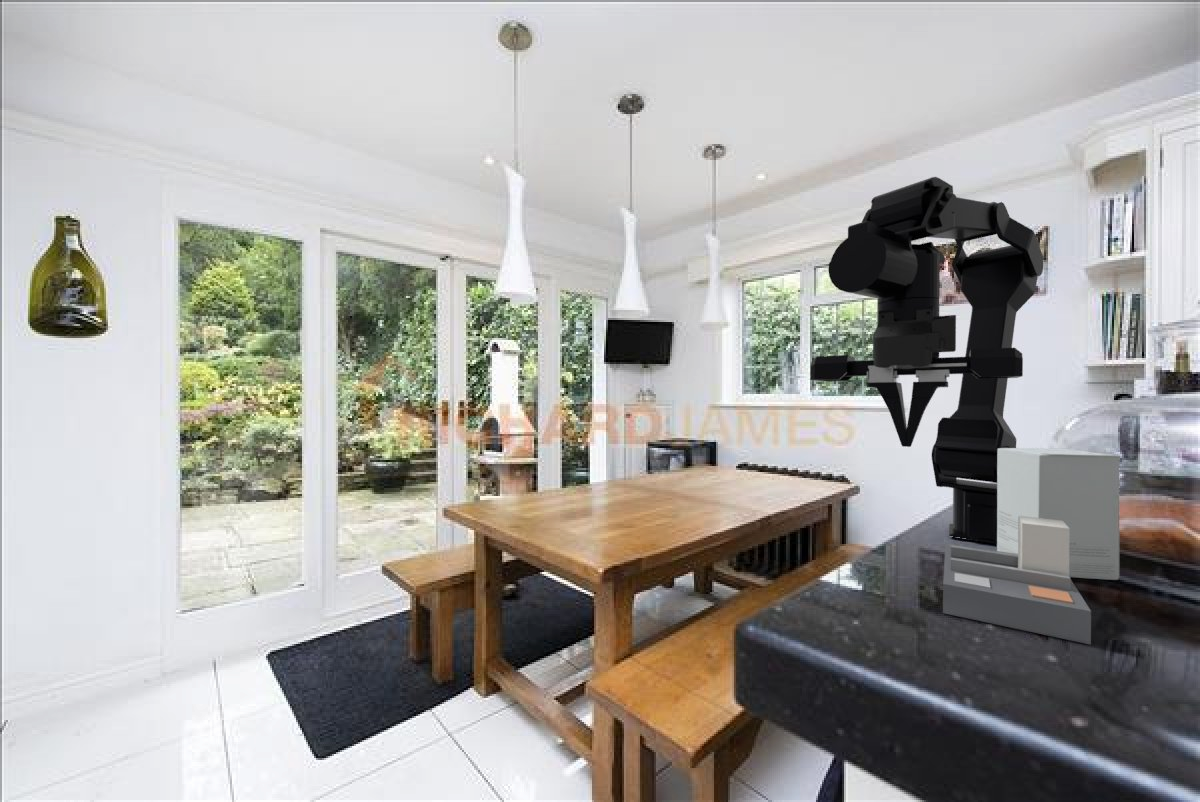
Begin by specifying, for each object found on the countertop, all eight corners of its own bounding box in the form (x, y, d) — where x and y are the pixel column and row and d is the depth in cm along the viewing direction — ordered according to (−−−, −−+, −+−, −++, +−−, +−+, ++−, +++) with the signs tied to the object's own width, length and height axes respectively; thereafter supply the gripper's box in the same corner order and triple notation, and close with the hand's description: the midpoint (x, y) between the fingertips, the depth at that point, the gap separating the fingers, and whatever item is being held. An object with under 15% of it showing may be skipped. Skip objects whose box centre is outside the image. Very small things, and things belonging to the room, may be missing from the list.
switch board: (945, 566, 53) (945, 534, 53) (1058, 585, 48) (1058, 549, 48) (942, 613, 42) (943, 572, 42) (1090, 644, 36) (1091, 597, 36)
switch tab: (1018, 567, 45) (1018, 515, 45) (1062, 574, 43) (1062, 520, 43) (1021, 577, 43) (1022, 523, 43) (1069, 585, 41) (1069, 528, 41)
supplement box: (1122, 581, 49) (1124, 455, 48) (1036, 576, 50) (1037, 453, 50) (1068, 557, 56) (1068, 447, 56) (994, 553, 57) (995, 446, 57)
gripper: (798, 301, 52) (797, 447, 52) (1031, 275, 41) (1029, 461, 41) (821, 315, 61) (820, 439, 61) (1017, 297, 50) (1015, 449, 50)
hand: (906, 446), depth 53 cm, fingers closed
